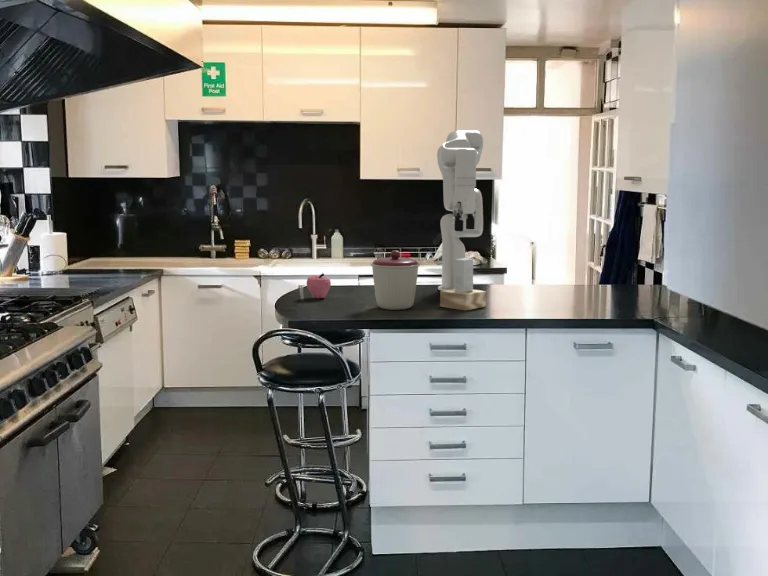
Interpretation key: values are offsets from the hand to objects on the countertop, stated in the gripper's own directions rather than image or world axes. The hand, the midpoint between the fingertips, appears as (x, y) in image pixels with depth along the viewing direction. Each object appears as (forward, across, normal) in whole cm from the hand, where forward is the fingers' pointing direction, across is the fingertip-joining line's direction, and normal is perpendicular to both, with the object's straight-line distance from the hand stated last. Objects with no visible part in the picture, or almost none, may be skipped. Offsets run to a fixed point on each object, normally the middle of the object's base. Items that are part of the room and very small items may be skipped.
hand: (464, 230), depth 298 cm
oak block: (+29, 0, 0) cm, 29 cm away
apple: (+28, +13, -56) cm, 64 cm away
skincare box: (+23, 0, 0) cm, 23 cm away
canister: (+28, +16, -20) cm, 38 cm away
